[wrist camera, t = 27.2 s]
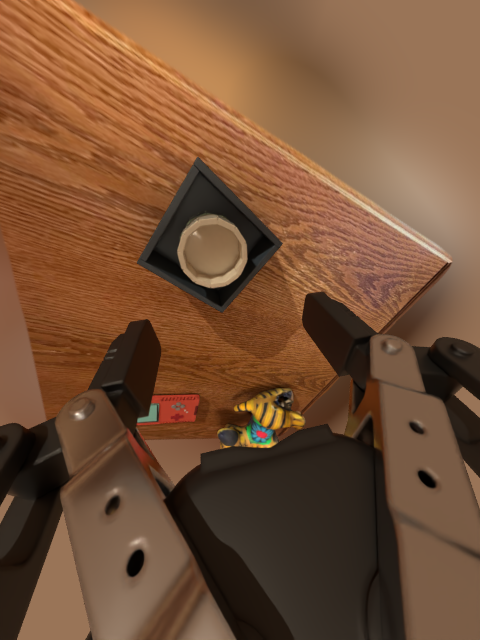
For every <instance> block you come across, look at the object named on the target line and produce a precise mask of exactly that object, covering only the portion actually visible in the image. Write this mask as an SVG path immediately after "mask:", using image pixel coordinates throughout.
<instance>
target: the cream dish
mask: <svg viewBox="0 0 480 640" xmlns="http://www.w3.org/2000/svg"><path fill="white" fill-rule="evenodd" d="M177 251H178V252H177V254H178V258H179V261H180V265H181V269H183V272H184V273H185V274H186V275H187V276H188V277H189V278H190V279H191V280H192V281H193V282H195V283H196V284H199V285H202V286H205V287H208V288H210V287H211V288H216V287H223V286H226V285H229V284H230V283H231V282H233V281H234V280H236V279H237V278H238V277H239V275H241V273H242V271H243V269H244V267H245V265H246V263H247V261H246V260H247V244H246V241H245V239H244V238H243V236H242V235H241V233H240V232H239V230H238V228H237V227H236V226H235V225H234V224H233V223H232V222H231V221H229V220H227V219H225V218H224V217H221V216H219V215H215V214H214V215H213V214H207V215H202V216H198V217H196V218H195V219H193V220H192V221H191V222H190V223H189V224H188V225H187V226H186V227H185V228H184V229H183V232H182V235H181V239H180V242H179V246H178V250H177Z"/></svg>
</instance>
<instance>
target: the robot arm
mask: <svg viewBox="0 0 480 640" xmlns="http://www.w3.org/2000/svg"><path fill="white" fill-rule="evenodd" d="M302 323H303V326H304V328H305V330H306V331H307V333H308V334H309V336H310V337H311V338H312V340H313V341H314V342H315V344H316V345H317V347H318V348H319V349H320V351H321V352H322V353H323V355H324V356H325V358H326V359H327V360H328V362H329V363H330V365H331V366H332V367H333V369H334V370H335V371H336V373H337V374H338V376H339V377H340V376H345V375H350V376H351V377H352V380H351V382H350V397H349V413H348V422H347V426H346V429H345V433H344V435H343V434H337V433H332V431H331V429H330V427H329V426H328V424H324V425H320V426H315V427H311V428H307V429H303V430H299V431H297V432H295V433H293V434H292V435H290V436H288V437H287V438H285V439H283V440H282V441H280V442H278V443H277V444H275V445H273V446H272V447H269V448H258V447H241V446H231V447H227V448H223V449H219V450H215V451H210V452H206V453H202V454H201V464H200V465H198V466H196V467H195V468H194V469H192V470H191V471H190V472H189V473H187V474H186V475H185V476H184V477H183V478H182V479H181V480H180V481H179V482H178V483H177V485H176V486H175V485H174V484H173V482H172V481H171V479H170V478H169V477H168V475H167V474H166V472H165V471H164V470H163V468H162V467H161V466H160V464H159V463H158V462H157V459H156V458H155V456H154V455H153V453H152V451H151V450H150V448H149V447H148V445H147V444H146V442H145V440H144V439H143V437H142V436H141V434H140V432H139V431H138V429H137V428H136V425H137V421H138V418H143V417H147V416H149V412H150V407H151V402H152V397H153V392H154V387H155V382H156V377H157V372H158V367H159V362H160V357H161V346H160V342H159V340H158V338H157V336H156V333H155V331H154V329H153V327H152V325H151V323H150V321H149V320H148V319H146V320H139V321H133V322H130V323H129V325H128V327H127V329H126V332H125V334H120V335H119V336H118V337H117V338H116V339H115V340H114V341H113V342H112V343H111V345H110V347H109V349H108V351H107V352H108V353H106V355H105V357H104V361H102V363H101V365H100V367H99V369H98V371H97V373H96V375H95V377H94V378H93V380H92V382H91V384H90V386H89V388H88V390H87V391H84V392H82V393H80V394H78V395H77V396H75V397H74V398H72V399H71V400H70V401H68V402H67V403H66V404H65V405H64V406H63V407H62V409H61V410H60V411H59V413H58V415H57V417H55V418H52V419H50V420H48V421H46V422H43V423H41V424H39V425H37V426H35V427H32V428H30V429H26V428H25V427H23V426H21V425H20V424H17V423H11V424H6V425H3V426H0V505H1V504H2V502H3V500H4V498H5V497H6V495H7V494H8V495H12V496H15V497H14V499H13V501H12V503H11V505H10V506H9V508H8V510H7V512H6V514H5V516H4V518H3V520H2V522H1V524H0V640H17V637H18V634H19V632H20V629H21V626H22V623H23V620H24V618H25V615H26V612H27V609H28V606H29V604H30V601H31V598H32V595H33V592H34V589H35V587H36V584H37V581H38V579H39V576H40V573H41V570H42V567H43V565H44V562H45V559H46V556H47V553H48V550H49V548H50V545H51V542H52V539H53V536H54V534H55V531H56V528H57V525H58V523H59V520H60V517H61V514H62V511H64V516H65V520H66V525H67V529H68V533H69V538H70V542H71V546H72V551H73V555H74V560H75V564H76V569H77V573H78V577H79V581H80V586H81V590H82V594H83V599H84V604H85V608H86V612H87V617H88V621H89V625H90V630H91V631H90V632H89V634H88V636H87V638H86V639H85V640H480V509H479V506H478V503H477V500H476V497H475V494H474V491H473V488H472V485H471V482H470V479H469V476H468V473H467V470H466V467H465V464H464V461H465V462H466V463H467V464H468V465H469V466H470V468H471V469H472V470H473V471H474V472H475V473H476V474H477V475H478V476H479V478H480V418H479V417H478V416H477V415H476V414H475V413H474V412H473V411H471V410H470V409H469V408H468V407H467V406H466V405H465V404H464V403H462V402H461V401H460V400H459V399H458V398H457V397H456V396H455V395H454V394H455V393H456V392H458V391H459V390H460V389H461V388H462V387H464V388H466V389H467V390H468V391H469V392H470V393H472V394H473V395H474V396H475V397H476V398H478V399H479V400H480V348H478V347H476V346H475V345H473V344H471V343H468V342H466V341H463V340H460V339H455V338H449V337H442V338H439V339H437V340H436V341H435V342H434V344H433V345H432V346H431V347H416V346H415V347H414V346H411V345H410V344H408V343H407V342H406V341H404V340H402V339H400V338H398V337H395V336H392V335H387V334H378V333H377V332H375V331H374V330H373V329H372V328H371V327H370V326H368V325H367V324H366V323H365V322H364V321H363V320H361V319H360V318H359V317H358V316H356V315H355V314H354V313H353V312H352V311H350V309H348V308H347V307H346V306H345V305H344V304H342V303H340V302H338V301H336V300H334V299H331V298H330V297H328V296H327V295H326V294H325V293H324V292H316V293H310V294H307V295H306V297H305V303H304V309H303V316H302ZM463 460H464V461H463Z"/></svg>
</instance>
